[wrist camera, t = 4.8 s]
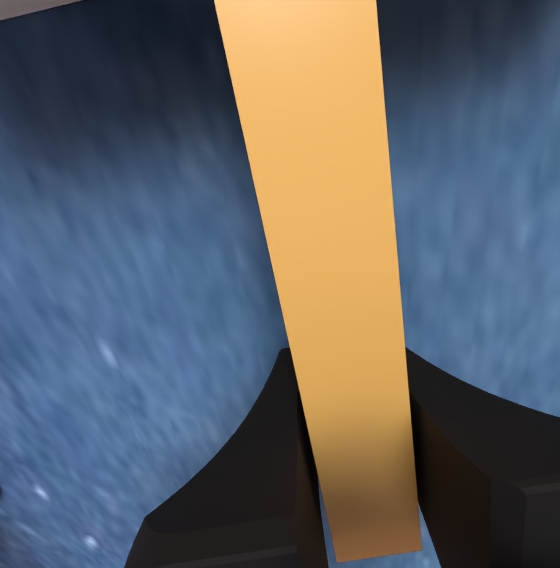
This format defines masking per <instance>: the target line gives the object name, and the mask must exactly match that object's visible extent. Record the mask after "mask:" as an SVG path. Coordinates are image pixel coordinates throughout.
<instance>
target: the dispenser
mask: <svg viewBox="0 0 560 568" xmlns="http://www.w3.org/2000/svg"><path fill="white" fill-rule="evenodd" d="M77 1H81V0H0V20H4V19H8V18H12V17H16V16H20V15H24V14H28V13H33V12H37V11H41V10H45V9H49V8H53V7H57V6H61V5H65V4H69V3H73V2H77Z"/></svg>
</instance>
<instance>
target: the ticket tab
mask: <svg viewBox="0 0 560 568" xmlns="http://www.w3.org/2000/svg"><path fill="white" fill-rule="evenodd" d="M214 2H215V7H216V11H217V16H218V20H219V25H220V30H221V34H222V39H223V43H224V48H225V52H226V57H227V62H228V66H229V71H230V75H231V80H232V84H233V89H234V94H235V98H236V103H237V107H238V112H239V116H240V121H241V126H242V130H243V135H244V139H245V144H246V148H247V153H248V158H249V162H250V167H251V171H252V176H253V180H254V185H255V190H256V194H257V199H258V203H259V208H260V212H261V217H262V222H263V226H264V231H265V235H266V240H267V244H268V249H269V254H270V258H271V263H272V267H273V272H274V276H275V281H276V286H277V290H278V295H279V299H280V304H281V308H282V313H283V318H284V322H285V327H286V331H287V336H288V340H289V345H290V350H291V354H292V359H293V363H294V368H295V372H296V377H297V382H298V386H299V391H300V395H301V400H302V404H303V409H304V413H305V418H306V423H307V427H308V432H309V436H310V441H311V445H312V450H313V455H314V459H315V464H316V468H317V473H318V477H319V482H320V487H321V491H322V496H323V500H324V505H325V509H326V514H327V519H328V523H329V528H330V532H331V537H332V541H333V546H334V551H335V555H336V560H337V563H339V562H345V561H352V560H359V559H366V558H373V557H380V556H387V555H394V554H401V553H408V552H414V551H421V550H422V545H421V533H420V521H419V509H418V497H417V485H416V473H415V461H414V449H413V437H412V425H411V413H410V401H409V389H408V377H407V365H406V353H405V341H404V329H403V317H402V305H401V293H400V281H399V269H398V257H397V245H396V233H395V221H394V209H393V197H392V185H391V173H390V162H389V150H388V138H387V126H386V114H385V102H384V90H383V78H382V66H381V54H380V42H379V30H378V18H377V6H376V0H214Z"/></svg>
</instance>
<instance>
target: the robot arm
mask: <svg viewBox="0 0 560 568" xmlns="http://www.w3.org/2000/svg"><path fill="white" fill-rule="evenodd" d="M405 353H406V365H407V377H408V389H409V401H410V413H411V425H412V437H413V449H414V461H415V473H416V485H417V497H418V503H419V506H420V508H421V511H422V514H423V517H424V520H425V522H426V525H427V528H428V531H429V534H430V536H431V539H432V542H433V545H434V548H435V551H436V554H437V557H438V559H439V562H440V565H441V568H560V417H556V416H553V415H549V414H546V413H543V412H540V411H537V410H534V409H531V408H528V407H525V406H522V405H519V404H517V403H514V402H511V401H508V400H506V399H503V398H500V397H498V396H495V395H493V394H490V393H488V392H486V391H483V390H481V389H479V388H477V387H475V386H472V385H470V384H468V383H466V382H464V381H462V380H460V379H458V378H456V377H454V376H452V375H450V374H448V373H447V372H445V371H443V370H441V369H439V368H438V367H436V366H434V365H432V364H431V363H429V362H427V361H426V360H424V359H423V358H421V357H420V356H418V355H416V354H415V353H413V352H412V351H410V350H409V349H408V348H406V347H405ZM124 568H329V567H328V560H327V553H326V546H325V539H324V532H323V525H322V518H321V510H320V500H319V484H318V473H317V468H316V464H315V459H314V455H313V450H312V445H311V441H310V436H309V432H308V427H307V423H306V418H305V413H304V409H303V404H302V400H301V395H300V391H299V386H298V382H297V377H296V372H295V368H294V363H293V359H292V354H291V350H290V348H285V349H281V350H280V352H279V354H278V357H277V359H276V362H275V364H274V367H273V369H272V371H271V374H270V376H269V378H268V380H267V382H266V384H265V386H264V388H263V390H262V392H261V393H260V395H259V397H258V398H257V400H256V402H255V404H254V405H253V407H252V409H251V410H250V412H249V413H248V415H247V416H246V418H245V419H244V421H243V422H242V424H241V425H240V426H239V428H238V429H237V430H236V432H235V433H234V434H233V436H232V437H231V438H230V439H229V440H228V442H227V443H226V444H225V445H224V446H223V447H222V448H221V450H220V451H219V452H218V453H217V454H216V455H215V456H214V457H213V459H212V460H211V461H210V462H209V463H208V464H207V465H206V466H205V467H204V468H203V469H202V470H201V471H199V472H198V473H197V474H196V475H195V476H194V477H193V478H192V479H191V480H190V481H189V482H188V483H186V484H185V485H184V486H183V487H182V488H181V489H180V490H178V491H177V492H176V493H175V494H173V495H172V496H171V497H170V498H168V499H167V500H166V501H165V502H164V503H162V504H161V505H160V506H159V507H157V508H156V509H155V510H154V511H152V512H151V513H150V514H148V515H147V516H146V517H145V518H144V520H143V522H142V525H141V527H140V529H139V531H138V533H137V536H136V538H135V540H134V542H133V545H132V548H131V550H130V553H129V555H128V558H127V561H126V564H125V567H124Z"/></svg>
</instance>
